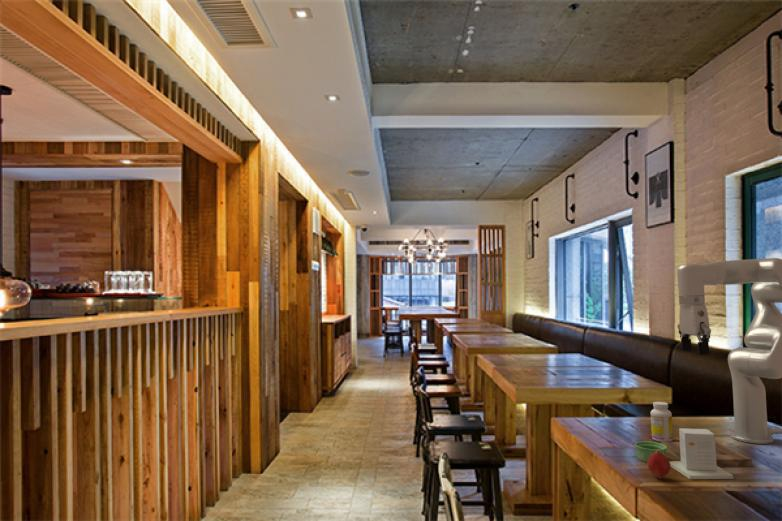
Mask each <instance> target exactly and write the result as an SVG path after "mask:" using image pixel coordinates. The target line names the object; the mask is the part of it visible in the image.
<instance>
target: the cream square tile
mask: <svg viewBox="0 0 782 521" xmlns="http://www.w3.org/2000/svg"><path fill="white" fill-rule="evenodd" d="M669 462H670V466H671V469H673V470H676V472H678V473H679V474H681V475H683V476H684V477H685V478H688V479H689V480H731V479H732V480H733V479H734V475H733V474H731V473H730V472H728V471H726V470H724V469H722V468H721V467H720V466H717V471H705V470H687V469H686V468H685V467H684V466H683V465H682V464H681V460H677V461H676V460H672V461H671V460H669Z"/></svg>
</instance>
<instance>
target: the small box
mask: <svg viewBox="0 0 782 521" xmlns="http://www.w3.org/2000/svg"><path fill="white" fill-rule="evenodd" d="M678 434H679V442H680V455H681V460H680V461H681V464H682V465H683V466H684V467H685V468H686V469H687V470H705V471H717V465H716V449H715V442H716V436H715V434H714V433H713V432H712V431H711V430H709V429H706V428H679V429H678Z"/></svg>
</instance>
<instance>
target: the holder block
mask: <svg viewBox="0 0 782 521" xmlns="http://www.w3.org/2000/svg"><path fill="white" fill-rule="evenodd" d="M660 444H663V445H665V446H666V447H667V450H666V453H667V454H670V455H671V456H673V457H675V458H676V459H678V460H679V461H681V455H680V441H672V442H660ZM715 449H716V465H717V466H718V467H753V459H752V458H750V457H748V456H746V455H744V454H742V453H740V452H737V451H736V450H734V449H732V448H730V447H727V446H725V445H724V444H721V443H719V442H717V441H715Z"/></svg>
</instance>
